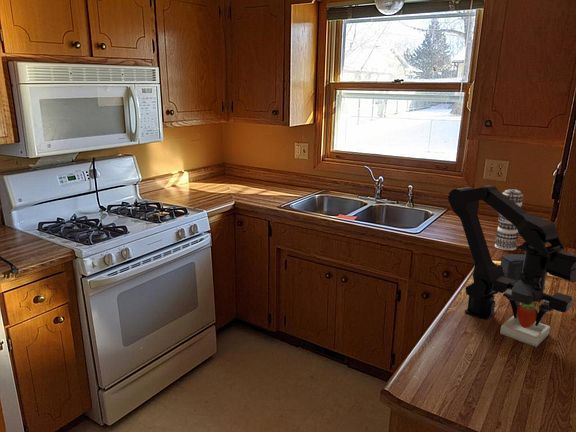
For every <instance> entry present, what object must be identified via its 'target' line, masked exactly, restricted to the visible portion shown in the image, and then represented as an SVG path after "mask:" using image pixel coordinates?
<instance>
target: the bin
mask: <svg viewBox="0 0 576 432" xmlns="http://www.w3.org/2000/svg"><path fill="white" fill-rule="evenodd" d="M535 324H536V321H535V323H534V324H533V325H532V326H530V327H528V328H524V327H522V326H521V325H520V323H519V320H518V317H517V318H516V319H515V318H514V315H512V316H511V317H510V318H508V319H506V321H505V322H503V323H502V324H501V326H500V333H499V334H500V335H503V336H506V337H508V338H511V339H513V340H515V341H518V342H521V343H524V344H527V345H529V346H532V347H535V348H538V346H539V345H540V344H541V343H542V342H543V341H544V340H545V339H546V338H547V337H548V336H549V333H550V330H551V329H550V328H551V326H550V325H549V324H548V325H547V324H544V323H541V322H540V323H539V324H538V326H535Z"/></svg>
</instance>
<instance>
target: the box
mask: <svg viewBox="0 0 576 432" xmlns="http://www.w3.org/2000/svg"><path fill="white" fill-rule="evenodd" d="M524 257H525V254H521V253H520V254H504V255H501V259H500V265H501V266H502V267H503V272H504V275H505V277H506V278H510V279H513V280H514V281H515V283H514V284H516V282H517V281H518V279H519V278H520V274H521V272H522V269H523V263H524Z"/></svg>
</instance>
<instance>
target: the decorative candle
mask: <svg viewBox="0 0 576 432" xmlns="http://www.w3.org/2000/svg"><path fill="white" fill-rule="evenodd" d="M501 193H502V194H504V195H505V196H506V197H508V198H509V199H510V200H512V201H513V202H514V203H516V204H517V205H518V206H520V207H521V208H522V209H524V204H523V198H524V194H523V193H522V192H521V190H519V189H513V188H510V189H508V188H507V189H505V190H504V191H503V192H501ZM497 221H498V226H497V230H496V233H495V238H494V239H495V240H494V243H495V244H494V247H495V248H497V249H499V250H502V251H515V250H517V247H518V244H517V243H518V238H519V233H518V230H517V228H516V227H515V226H514V225H513V224H512V223H511V222H509V221H508V220H507V219H506V218H504V217H503V216H502V215H501V214H499V213H498V216H497Z"/></svg>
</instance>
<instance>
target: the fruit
mask: <svg viewBox="0 0 576 432" xmlns="http://www.w3.org/2000/svg"><path fill="white" fill-rule="evenodd" d="M535 302H536V301H535ZM535 302H533V301H532V303H531V304H530V305H526V304H524V303H520V305H519V306H518V308H517V317H518V320H519V323H520V325H521V326H522V327H524V328H528V327H530V326H532V325H533V324H534V323H535V321H536V319H537V315H538V312H539V310H538V309H537V308H539V306H540V305H538V306H537V305H536V306H535Z"/></svg>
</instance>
